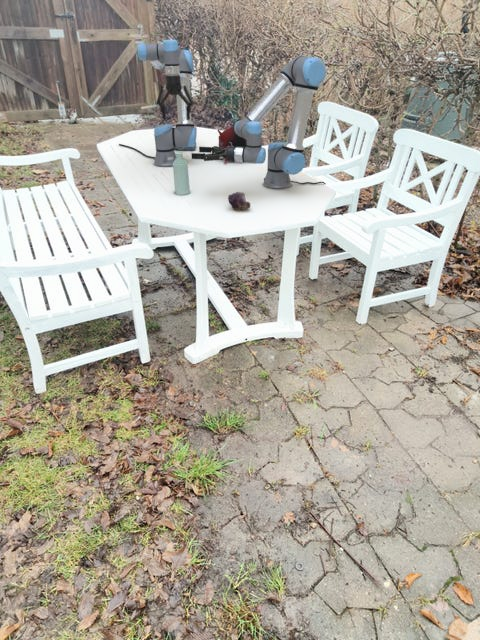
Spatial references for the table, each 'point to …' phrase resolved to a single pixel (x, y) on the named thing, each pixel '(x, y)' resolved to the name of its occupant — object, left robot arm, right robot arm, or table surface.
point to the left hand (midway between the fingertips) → (176, 119)
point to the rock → (238, 201)
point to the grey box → (186, 148)
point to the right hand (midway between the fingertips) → (195, 152)
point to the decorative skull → (231, 139)
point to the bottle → (181, 175)
